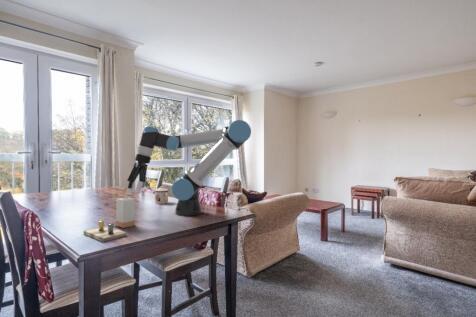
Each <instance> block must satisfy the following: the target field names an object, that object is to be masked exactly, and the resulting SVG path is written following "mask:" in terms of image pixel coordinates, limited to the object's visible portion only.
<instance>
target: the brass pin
mask: <svg viewBox="0 0 476 317" xmlns="http://www.w3.org/2000/svg"><path fill="white" fill-rule="evenodd" d="M104 222H105V221H104V220H98V228H99V231H103V230H104V226H105V223H104Z"/></svg>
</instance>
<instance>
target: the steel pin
mask: <svg viewBox="0 0 476 317" xmlns="http://www.w3.org/2000/svg"><path fill="white" fill-rule="evenodd" d="M107 226H108V234H113V228H114V223H113V222H112V223H108V224H107Z"/></svg>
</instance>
